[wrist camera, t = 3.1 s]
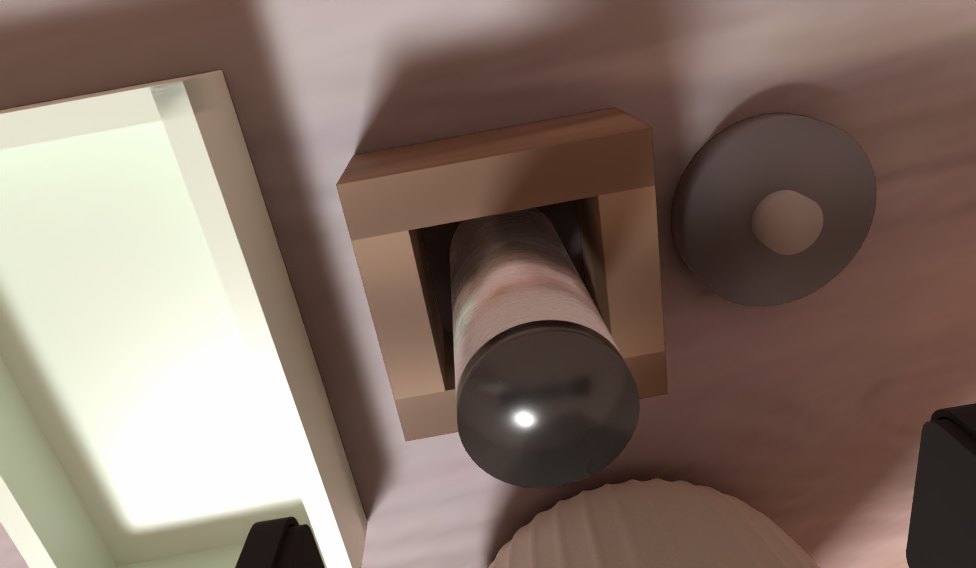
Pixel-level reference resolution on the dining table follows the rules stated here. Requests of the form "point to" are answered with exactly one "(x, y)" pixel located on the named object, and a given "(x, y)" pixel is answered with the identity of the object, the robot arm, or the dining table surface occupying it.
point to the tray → (154, 342)
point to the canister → (652, 531)
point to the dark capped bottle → (533, 357)
